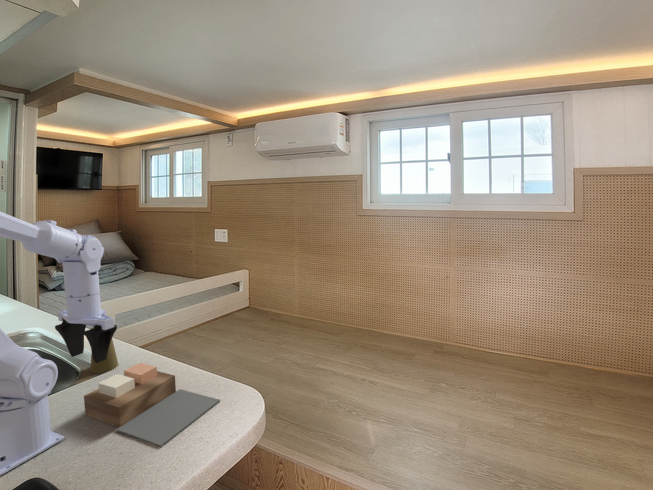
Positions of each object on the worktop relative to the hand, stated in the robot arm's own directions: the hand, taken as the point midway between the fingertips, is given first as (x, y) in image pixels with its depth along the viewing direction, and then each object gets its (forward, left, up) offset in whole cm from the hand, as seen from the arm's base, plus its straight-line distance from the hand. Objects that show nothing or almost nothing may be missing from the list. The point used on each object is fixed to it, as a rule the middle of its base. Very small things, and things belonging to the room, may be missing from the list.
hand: (88, 357), depth 73 cm
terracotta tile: (+5, -8, -5) cm, 11 cm away
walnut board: (+2, -9, -9) cm, 13 cm away
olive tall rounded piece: (+11, +12, -10) cm, 19 cm away
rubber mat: (+2, -20, -9) cm, 22 cm away
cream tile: (0, -8, -5) cm, 10 cm away
